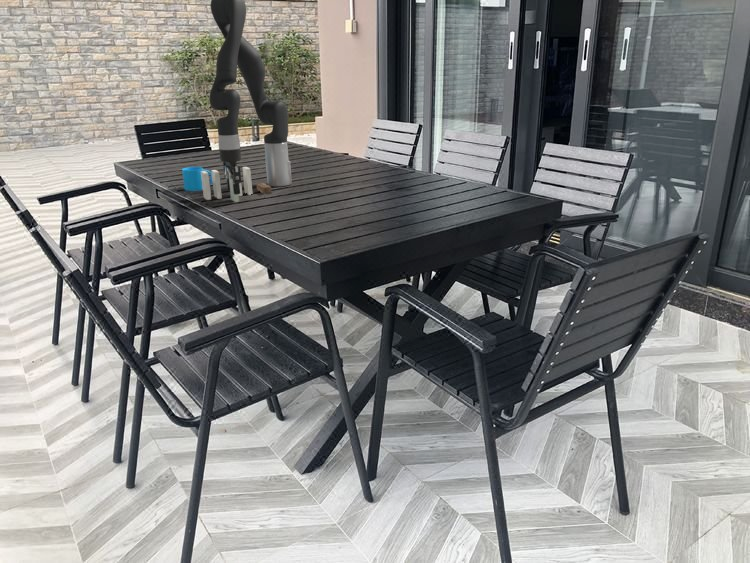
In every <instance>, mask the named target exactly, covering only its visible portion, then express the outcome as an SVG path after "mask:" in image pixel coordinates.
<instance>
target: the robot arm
mask: <svg viewBox="0 0 750 563" xmlns="http://www.w3.org/2000/svg"><path fill="white" fill-rule="evenodd" d="M210 11H211V14H212V18H213V19H214V21H215V24H216V25H217V27H218V29H219V31H220V33H221V34H222V35H223V38H224V41H223V43H222V45H221V47H220V49H219V51H218V53H217V59H216V69H215V71H216V72H215V77H214V80H213V85H212V86H211V90H210V92H209V93H210V94H209V97H208V98H209V103H210V106H211V108H212V109H213V110H215V111H228V112H227V115H226V116H222V117H219V118H218V119H217V121H216V126H217V136H218V140H217V141H218V143H217V144H218V151H219V152H218V153H219V159H220V161H221V162H222V166H223V175H224V179H225V181H226V187H227V188H226V189H227V191H229V192H230V184H229V177H230V179H232V183H233V191H234V194H235V195H236V194H240V186H239V184H240V183H241V184H242V176H241V175H242V174H241V166H239V165H237V164H238V163H237V162H240V161H241V160H242V152H241V141H240V137H239V127H238V120H239V113H240V109H241V108H240V106H241V100H242V99H241V96H240V93H239V92H238V91H237V90H236V89H232V88H229V89H227V88H226V87H227V86H229V85H233V84H235V83H236V82H237V78H238V76H237V75H238V70H239V73H240V74H241V76H242V78H243V80H244V83H245V85H246V87H247V88H246V89H248V93H249V95H250V97H251V101H252V103H253V107H254V109H255V112H256V115H257V117H258V120H259V121H260V122H261V123H262V124H264V125H268V126H272V130H271V131H270V132H269V133H267V134H264V136H263V142H264V145H263V146H264V157H265V168H266V181H267V185H268V186H270V187H285V186H288V185H293V184H292V168H291V161H290V160H289V149H288V136H289V112H288V107H287V104H286V103H285V102H283V101H282V100H281V101H279V100H270V99H268V97H267V93H266V92H265V89H264V84H265V79H266V67H265V65H264V62H263V59H262V56H261V55H260V52H259V51H258V50H257V49H256V47H255V46H254V45H253V44H252V43H251V42H249V40H247V39H246V38H245V37H244V36H243V32H244V28H245V22H246V17H247V5H246V2H245V0H211V1H210ZM232 175H233V176H232ZM236 179H237V180H236Z"/></svg>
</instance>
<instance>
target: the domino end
mask: <svg viewBox="0 0 750 563" xmlns="http://www.w3.org/2000/svg"><path fill="white" fill-rule="evenodd" d="M251 171H252V170H251V168H250V167H248V166H242V175H243V176H242V178H243V188H244V189H243V190H244V193H245V194H246V193H247V194H246V195H248V196H251V194H254V193H253V182H252V172H251Z"/></svg>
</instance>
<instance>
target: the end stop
mask: <svg viewBox="0 0 750 563" xmlns="http://www.w3.org/2000/svg"><path fill="white" fill-rule="evenodd" d="M255 185H256V191H258V192H259V191H260V193H261V194H263V195H269V194H272V186H269V185H268V184H266V183H264V182H262V183H261V182H260V183H256V184H255Z"/></svg>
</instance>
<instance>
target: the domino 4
mask: <svg viewBox="0 0 750 563" xmlns="http://www.w3.org/2000/svg"><path fill="white" fill-rule="evenodd" d="M239 186H240V194H238V195H239V197H242V196H243V186H242V182H241V183H240V184H239Z"/></svg>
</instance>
